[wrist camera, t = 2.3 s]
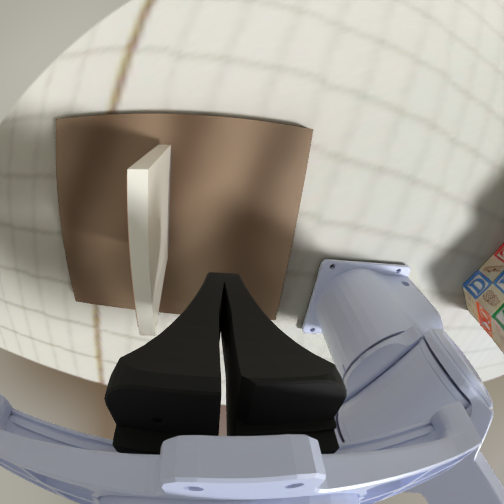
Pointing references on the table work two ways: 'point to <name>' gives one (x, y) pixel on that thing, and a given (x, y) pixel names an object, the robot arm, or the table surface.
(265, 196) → the board
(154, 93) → the table surface
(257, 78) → the table surface
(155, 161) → the tile
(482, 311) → the stack of blocks
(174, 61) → the table surface
